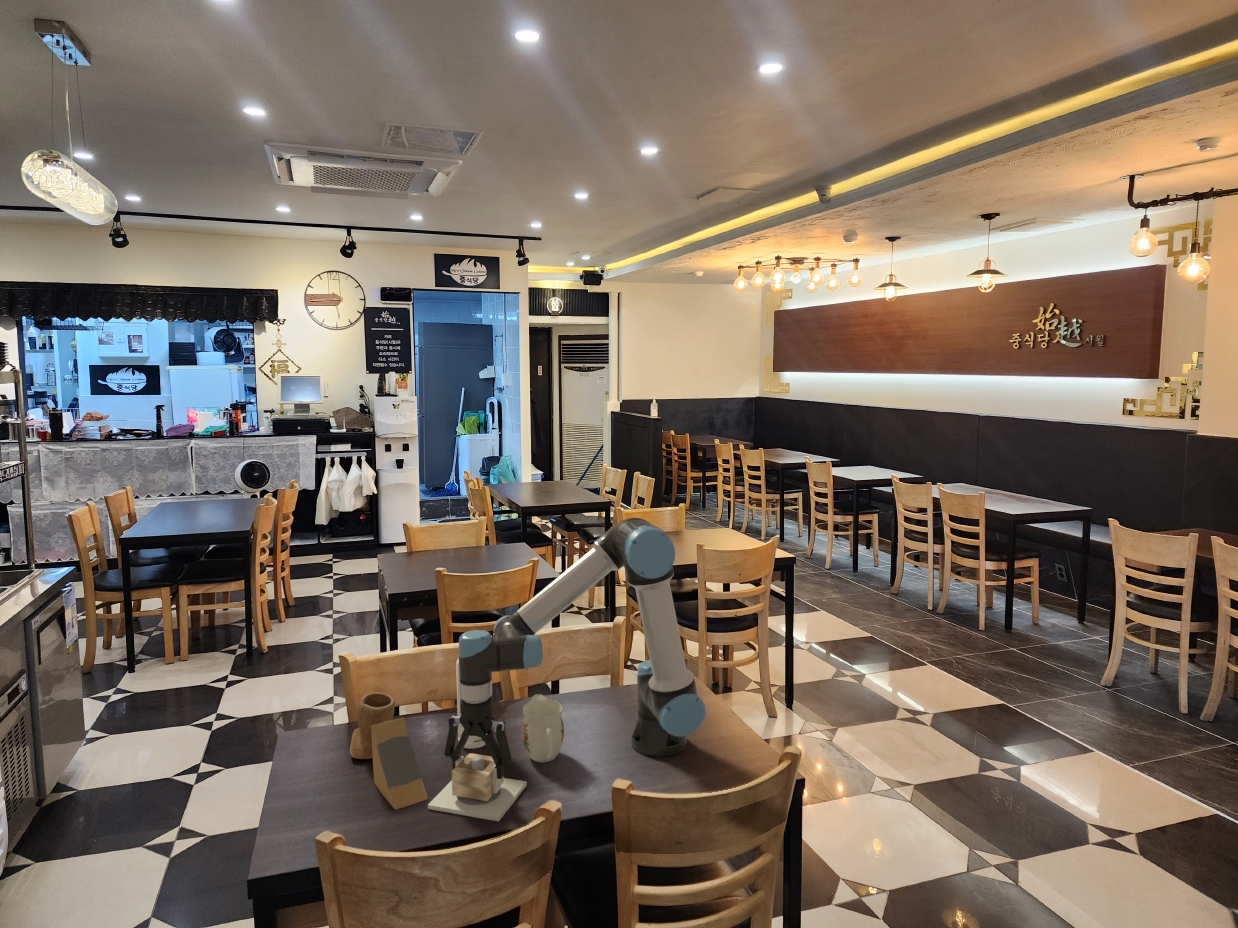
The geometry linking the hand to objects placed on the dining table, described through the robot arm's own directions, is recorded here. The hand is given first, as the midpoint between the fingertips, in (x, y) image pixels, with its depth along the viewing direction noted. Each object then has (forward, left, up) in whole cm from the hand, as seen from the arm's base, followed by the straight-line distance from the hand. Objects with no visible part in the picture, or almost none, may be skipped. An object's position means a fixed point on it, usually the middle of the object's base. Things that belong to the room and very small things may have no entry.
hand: (478, 787), depth 188 cm
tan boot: (+38, -14, -3) cm, 41 cm away
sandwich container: (+20, +3, -3) cm, 20 cm away
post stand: (0, 0, -2) cm, 2 cm away
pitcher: (-8, -22, -3) cm, 24 cm away
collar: (0, 0, 0) cm, 0 cm away
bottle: (+14, -25, -3) cm, 29 cm away
